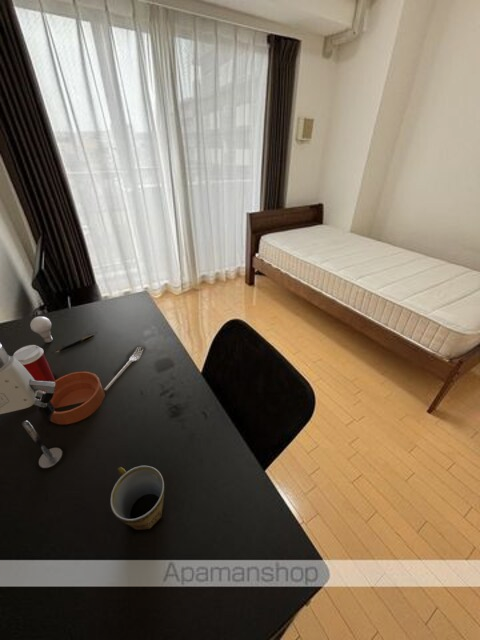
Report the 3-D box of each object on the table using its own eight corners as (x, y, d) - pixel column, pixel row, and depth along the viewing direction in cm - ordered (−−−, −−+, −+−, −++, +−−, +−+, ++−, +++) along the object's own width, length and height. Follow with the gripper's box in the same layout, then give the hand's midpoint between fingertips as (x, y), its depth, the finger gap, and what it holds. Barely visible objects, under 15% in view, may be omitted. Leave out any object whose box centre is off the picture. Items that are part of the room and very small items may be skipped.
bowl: (42, 433, 76) (32, 419, 72) (55, 391, 88) (47, 377, 84) (103, 419, 79) (96, 405, 76) (107, 380, 91) (102, 367, 88)
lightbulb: (56, 334, 111) (45, 311, 105) (60, 342, 107) (49, 318, 101) (38, 341, 108) (25, 317, 102) (41, 349, 104) (28, 325, 98)
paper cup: (50, 373, 94) (32, 340, 86) (64, 382, 91) (47, 349, 83) (26, 389, 89) (4, 355, 80) (39, 399, 85) (18, 365, 77)
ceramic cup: (180, 510, 61) (174, 488, 55) (139, 554, 55) (127, 534, 49) (146, 470, 68) (137, 447, 62) (107, 504, 62) (93, 482, 56)
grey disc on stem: (39, 474, 67) (6, 435, 58) (44, 455, 71) (15, 415, 62) (62, 468, 68) (34, 428, 59) (66, 449, 72) (40, 409, 63)
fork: (100, 390, 88) (99, 386, 87) (137, 349, 103) (136, 345, 102) (109, 393, 87) (108, 388, 86) (145, 351, 103) (144, 347, 102)
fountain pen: (55, 354, 101) (54, 351, 101) (54, 353, 102) (53, 350, 101) (95, 336, 110) (94, 333, 109) (94, 335, 110) (93, 332, 110)
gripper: (-92, 388, 45) (-31, 448, 55) (29, 365, 49) (66, 424, 59) (-66, 358, 51) (-15, 416, 61) (41, 339, 55) (72, 397, 65)
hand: (25, 420), depth 60 cm, fingers open, 9 cm apart
